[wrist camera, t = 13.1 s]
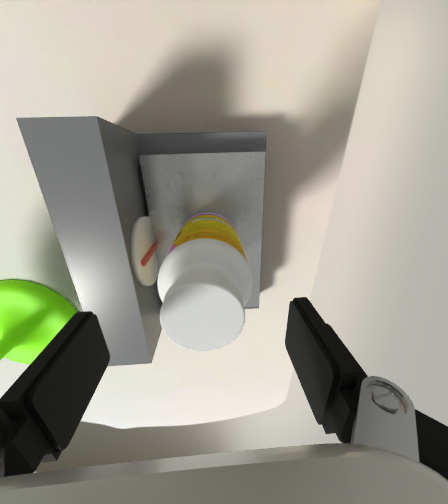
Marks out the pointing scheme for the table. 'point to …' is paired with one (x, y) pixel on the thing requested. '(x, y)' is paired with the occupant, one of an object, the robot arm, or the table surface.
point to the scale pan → (207, 198)
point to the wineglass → (29, 319)
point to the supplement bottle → (204, 284)
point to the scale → (112, 217)
